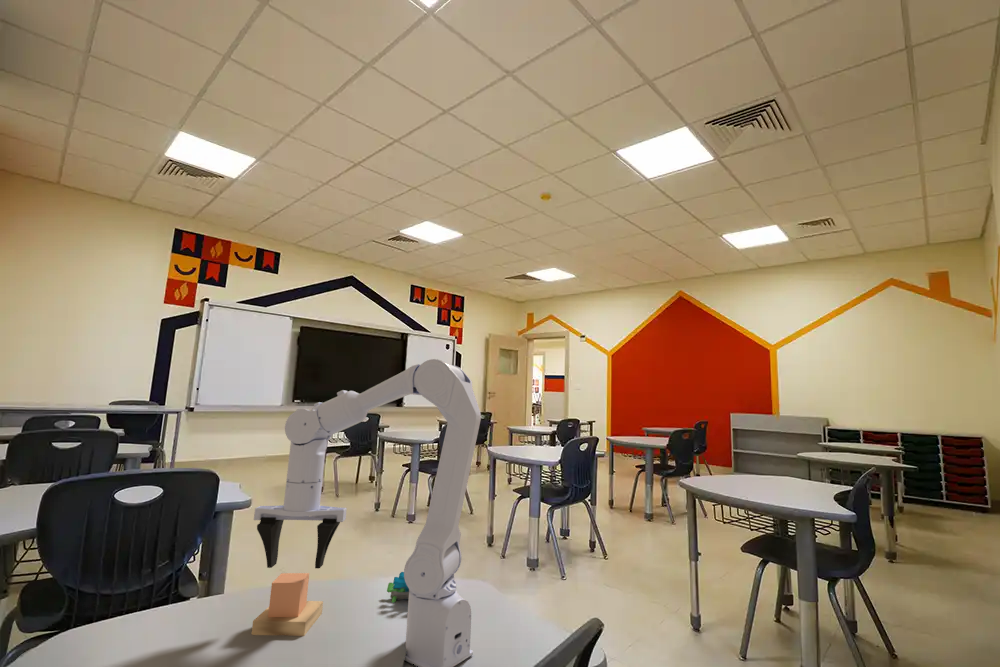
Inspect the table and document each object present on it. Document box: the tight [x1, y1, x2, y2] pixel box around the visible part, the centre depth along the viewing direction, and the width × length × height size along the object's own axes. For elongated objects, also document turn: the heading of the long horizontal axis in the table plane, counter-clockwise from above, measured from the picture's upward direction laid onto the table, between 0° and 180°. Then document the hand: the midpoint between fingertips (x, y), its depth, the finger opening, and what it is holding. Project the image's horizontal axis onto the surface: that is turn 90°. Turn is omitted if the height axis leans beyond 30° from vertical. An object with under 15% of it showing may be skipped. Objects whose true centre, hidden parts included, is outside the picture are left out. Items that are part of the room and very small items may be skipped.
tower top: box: [251, 600, 324, 637], centre depth 74 cm, size 8×8×2 cm
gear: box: [386, 571, 409, 603], centre depth 84 cm, size 11×6×10 cm
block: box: [268, 572, 310, 617], centre depth 75 cm, size 4×4×5 cm
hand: (295, 566), depth 76 cm, fingers open, 7 cm apart
